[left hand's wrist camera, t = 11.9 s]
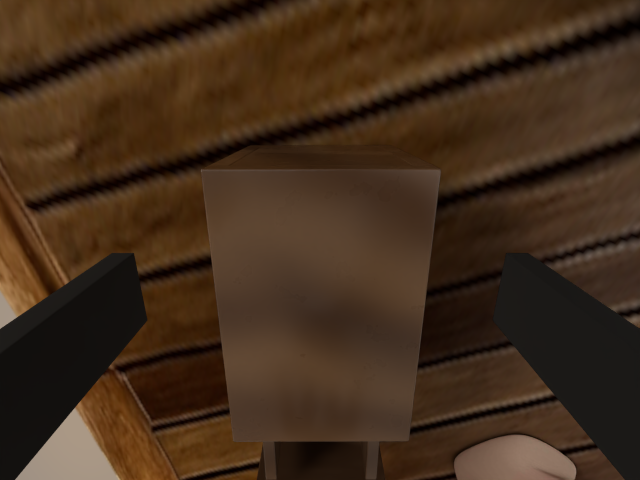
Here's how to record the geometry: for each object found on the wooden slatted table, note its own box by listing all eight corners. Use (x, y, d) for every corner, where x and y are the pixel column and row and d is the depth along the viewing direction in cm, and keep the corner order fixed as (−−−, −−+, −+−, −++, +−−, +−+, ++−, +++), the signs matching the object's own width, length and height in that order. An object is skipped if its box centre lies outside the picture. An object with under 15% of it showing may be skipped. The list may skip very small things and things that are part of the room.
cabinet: (378, 329, 33) (409, 441, 22) (262, 329, 33) (233, 442, 22) (391, 145, 27) (441, 168, 16) (249, 145, 27) (199, 169, 16)
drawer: (367, 447, 37) (383, 560, 28) (274, 447, 37) (259, 560, 28) (378, 261, 30) (405, 330, 20) (262, 261, 30) (235, 330, 20)
